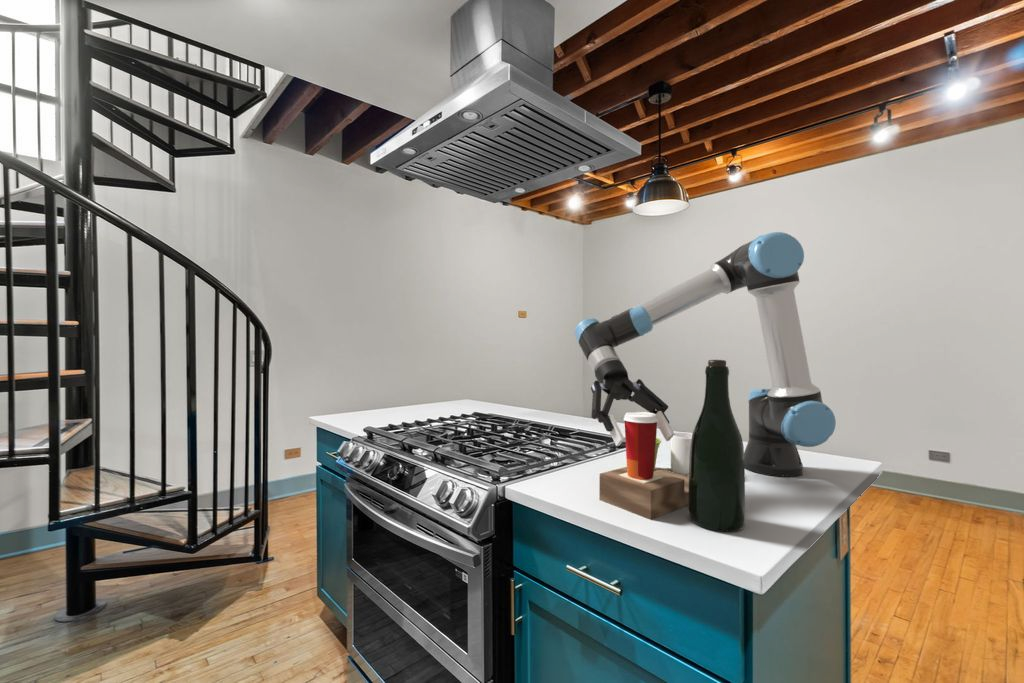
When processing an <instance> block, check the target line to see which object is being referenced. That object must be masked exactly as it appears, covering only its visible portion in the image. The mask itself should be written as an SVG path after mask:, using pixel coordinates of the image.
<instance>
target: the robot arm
mask: <svg viewBox="0 0 1024 683" xmlns="http://www.w3.org/2000/svg"><path fill="white" fill-rule="evenodd" d="M804 259H805V252H804V248H803V246H802V244H801V243H800V241H799V240H798V239H796V237H794V236H792V235H791V234H789V233H786V232H782V231H773V232H768V233H765V234H762V235H759V236H757V237H756V238H755V239H753V240H751V241H749V242H747V243H745V244H743V245H741V246H739V247H738V248H736V249H735V250H733V251H731V252H730V253H729V254H728V255H726V256H725V257H723V258H721V259H719V260H718V261H716V262H714V263H712V264H710V267H709V269H707V270H705V271H703V272H701V273H699V274H697V275H695V276H693V277H691V278H690V279H687V280H685V281H683V282H681V283H679V284H677V285H675V286H672V287H671V288H669V289H666V290H665V291H662V292H661V293H659V294H657V295H655V296H653V297H651V298H649V299H647V300H645V301H643V302H641V303H639V304H637V305H635V306H633V307H630V308H628V309H627V310H624V311H622V312H620V313H618V314H615V315H613V316H612V317H611V318H609V319H607V320H604V321H601V322H600V321H599V320H598V319H596V318H595V317H591V318H586V319H583V320H582V321H580V322H579V323H578V324H577V325H576V327H575V330H574V335H575V337H576V340H577V343H578V344H579V347H580V348H581V350H582V352H583V355H584V356H585V359H586V360H587V362H588V364H589V367H590V368H591V371H592V373H593V374H594V377H595V378H596V380H595V381H594V382H593V383H592V385H591V387H590V389H591V394H592V398H591V400H592V402H591V416H590V417H591V418H592V419H593V420H596V419H597V421H598V423H600V424H603V426H604V428H605V430H606V432H608V433H609V435H610V436H611V437H612V440H613V442H614V444H615V447H619V446H621V444H622V443H623V442H624V440H625V436H624V435H623V433H622V431H621V429H620V427H619V425H618V422H617V420H616V419H615V417H614V414H612V413H611V414H609V413H610V411H611V408H612V404H613V402H614V400H615V401H622V400H623V401H629V402H634V403H636V404H637V405H638V406H640V407H641V408H643V409H644V410H646V412H648V413H653V414H656V417H657V419H658V422H657V427H658V429H659V430H660V432H661V434H662V437H663V438H664V439H665V441H666V442H670V441H671V438H672V437H673V436H674V435H675V434H674V433H675V432H674V430H673V429H672V427H671V425H670V421H669V419H668V417H667V415H666V414H665V412H666V411H667V410H668V409H669V405H668V404H667V403H666V402H664V401H663V400H662V399H661V398H660V397H659V396H657V394H655V392H653V391H652V390H651V389H650V388H648V387H647V386H646V385H645V383H644V382H643V381H642V379H640V378H638V379H637V380H636V381H631V379H630V378H629V373H628V370H627V369H626V367H625V364H624V363H623V362H622V360H621V358H620V357H619V355H618V353H617V351H616V350H615V348H617V347H618V346H619V345H623V344H624V343H628V342H630V341H633V340H635V339H636V338H639V337H643V336H644V335H645V334H648V333H650V332H652V331H653V328H654V326H655V325H657V324H660V323H662V322H663V321H667V320H668V319H669V318H672V317H674V316H676V315H678V314H680V313H683V312H684V311H687V310H688V309H690V308H693V307H695V306H698V305H700V304H701V303H704V302H705V301H707V300H709V299H711V298H714V297H715V296H717V295H718V296H719V295H720V294H722V293H723V294H726V295H727V294H730V293H733V292H734V291H737V290H739V289H742V288H747V292H748V293H749V294H750V295H752V296H754V298H755V301H756V305H757V310H758V312H757V313H758V316H759V321H760V322H759V323H760V326H761V328H760V329H761V332H762V338H763V343H764V349H765V353H766V359H767V363H768V369H769V375H770V379H771V385H772V387H771V388H754V389H752V390H750V392H749V394H748V395H749V398H748V400H747V401H748V402H747V403H748V442H747V443H746V446H745V450H744V464H745V469H746V470H749V471H751V472H753V473H758V474H762V475H767V476H774V477H775V476H776V477H798V476H802V475H803V474H804V464H803V462H802V459H801V456H800V453H799V450H798V448H797V446H800V447H804V448H805V447H806V448H812V447H817V446H820V445H822V444H824V443H826V442H827V441H828V440H829V438H830V437H832V436H833V434H834V432H835V430H836V427H837V426H836V424H837V423H836V420H837V419H836V416H835V413H834V411H833V410H832V409H831V408H830V407H829V406H828V405H826V404H825V403H823V398H822V394H821V388H819V387H817V386H816V385H815V384H813V383H812V379H811V373H810V369H809V364H808V358H807V353H806V348H805V347H806V346H805V343H804V337H803V331H802V327H801V321H800V317H799V311H798V306H797V300H796V295H795V289H796V288H797V287H798V285H799V283H800V282H801V281H800V276H799V272H798V271H799V270H800V268H801V266H802V265H803V263H804ZM602 391H603V392H604V393H606V394H607V396H606V398H605V402H604V404H603V407H602ZM632 393H634V394H633V395H632ZM601 408H602V410H601Z"/></svg>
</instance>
